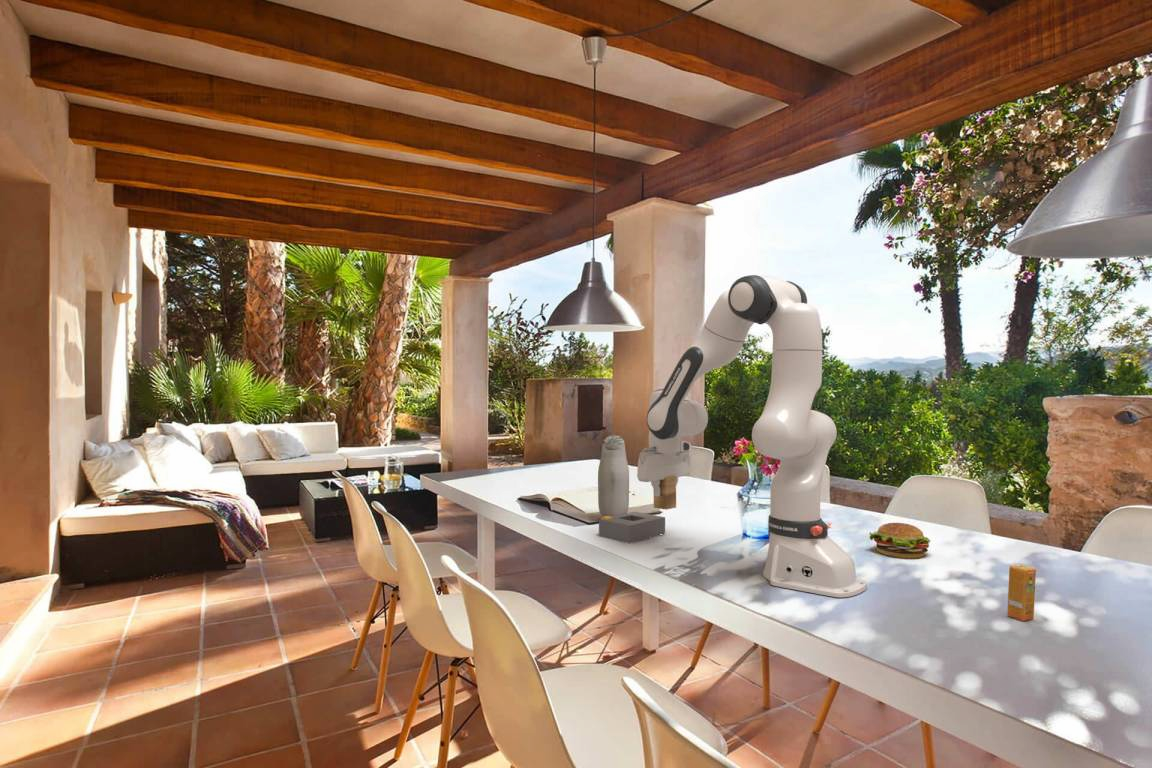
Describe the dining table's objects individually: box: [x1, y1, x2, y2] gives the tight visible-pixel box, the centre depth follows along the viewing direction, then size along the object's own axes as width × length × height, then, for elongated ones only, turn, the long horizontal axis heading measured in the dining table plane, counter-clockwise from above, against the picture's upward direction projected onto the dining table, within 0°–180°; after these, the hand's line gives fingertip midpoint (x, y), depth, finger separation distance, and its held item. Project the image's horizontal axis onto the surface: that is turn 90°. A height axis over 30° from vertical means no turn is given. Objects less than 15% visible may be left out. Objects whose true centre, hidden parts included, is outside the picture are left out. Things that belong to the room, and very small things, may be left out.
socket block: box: [598, 511, 666, 544], centre depth 195 cm, size 12×16×6 cm
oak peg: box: [653, 476, 677, 511], centre depth 186 cm, size 4×4×9 cm
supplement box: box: [1007, 563, 1037, 622], centre depth 127 cm, size 3×3×10 cm
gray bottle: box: [597, 434, 630, 518], centre depth 214 cm, size 10×10×28 cm
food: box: [869, 522, 931, 559], centre depth 175 cm, size 14×14×8 cm
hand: (664, 494), depth 186 cm, fingers closed on oak peg, 4 cm apart
